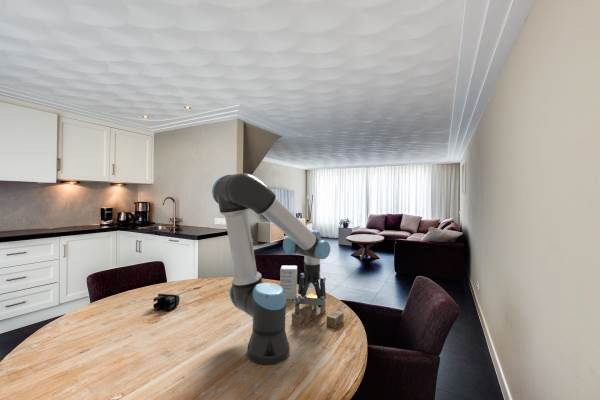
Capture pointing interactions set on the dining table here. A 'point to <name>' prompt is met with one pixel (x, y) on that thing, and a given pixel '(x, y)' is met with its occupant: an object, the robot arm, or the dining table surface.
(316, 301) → the lever
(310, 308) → the gold metallic block
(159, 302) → the end cap
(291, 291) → the supplement box
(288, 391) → the dining table surface
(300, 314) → the body
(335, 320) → the block
